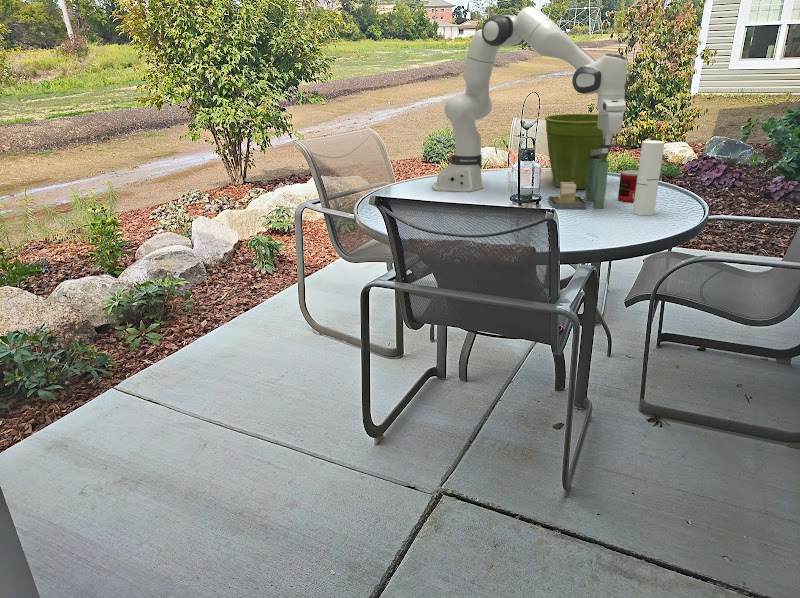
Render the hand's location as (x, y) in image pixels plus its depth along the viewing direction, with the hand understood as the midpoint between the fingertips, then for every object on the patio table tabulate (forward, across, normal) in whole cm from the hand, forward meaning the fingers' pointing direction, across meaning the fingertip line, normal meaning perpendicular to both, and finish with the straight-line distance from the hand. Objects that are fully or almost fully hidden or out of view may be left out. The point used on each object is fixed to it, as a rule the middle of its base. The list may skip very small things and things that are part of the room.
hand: (606, 144), depth 211 cm
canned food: (+23, -12, +13) cm, 29 cm away
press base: (+23, -7, -8) cm, 25 cm away
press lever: (+5, -6, -1) cm, 8 cm away
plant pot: (+23, -40, -2) cm, 46 cm away
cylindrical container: (+24, +8, +13) cm, 28 cm away
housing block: (+21, -4, -12) cm, 24 cm away
